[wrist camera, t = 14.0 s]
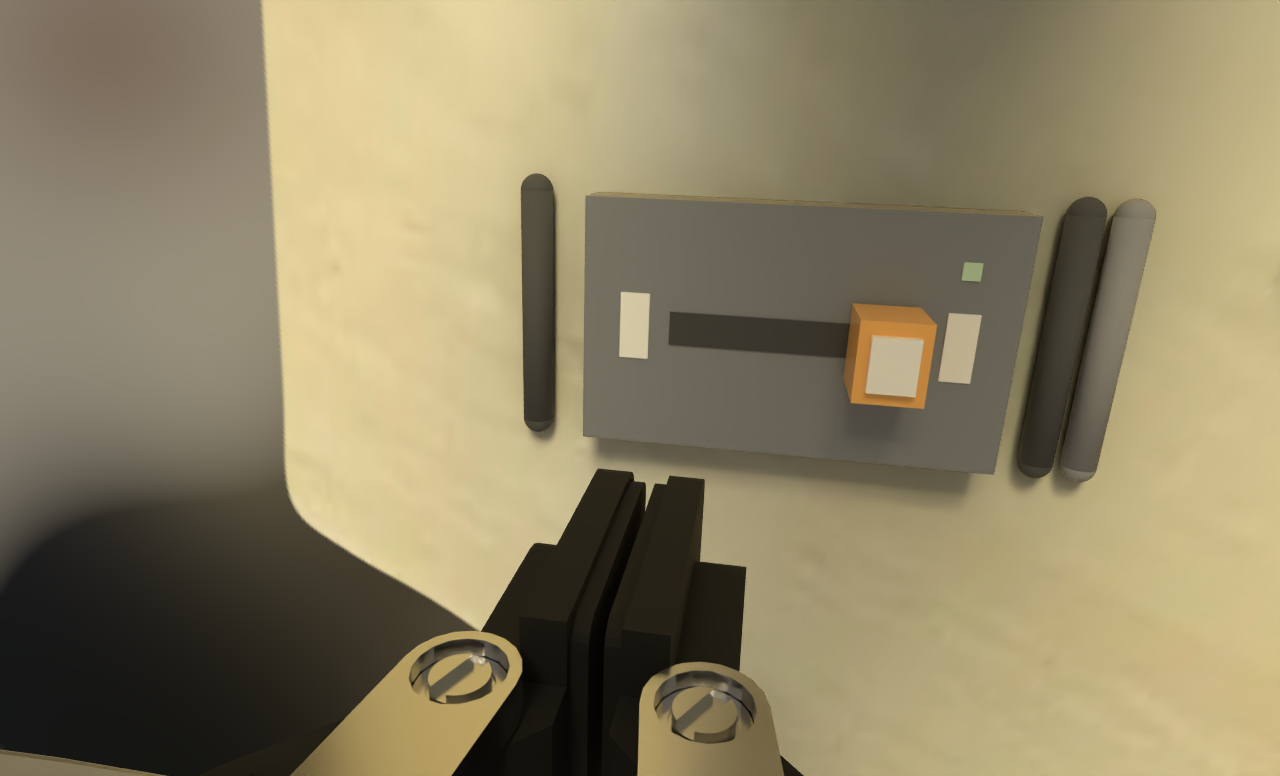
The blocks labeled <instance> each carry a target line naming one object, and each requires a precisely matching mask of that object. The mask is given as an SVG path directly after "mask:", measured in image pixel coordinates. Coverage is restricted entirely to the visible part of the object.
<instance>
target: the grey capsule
mask: <svg viewBox="0 0 1280 776" xmlns="http://www.w3.org/2000/svg"><path fill="white" fill-rule="evenodd" d="M1106 217H1107V209H1106V207H1105V205H1104V203H1103V202H1102V201H1100V200H1099V199H1097V198H1094V197H1084V198H1080V199H1078V200H1076V201H1075V202H1073V203H1072V204H1071V205H1070V207H1069V208H1068V210H1067V213H1066V217H1065V222H1064V227H1063V232H1062V237H1061V242H1060V247H1059V252H1058V257H1057V262H1056V267H1055V272H1054V277H1053V282H1052V287H1051V292H1050V297H1049V302H1048V307H1047V312H1046V317H1045V322H1044V327H1043V332H1042V337H1041V342H1040V347H1039V352H1038V357H1037V362H1036V367H1035V372H1034V377H1033V382H1032V387H1031V392H1030V397H1029V402H1028V407H1027V412H1026V417H1025V422H1024V427H1023V432H1022V437H1021V442H1020V447H1019V452H1018V457H1017V465H1018V468H1019V469H1020V471H1021V472H1022V473H1023V474H1024V475H1026V476H1028V477H1031V478H1041V477H1043V476H1045V475H1047V474H1048V473H1049V472H1050V471H1051V469H1052V467H1053V463H1054V458H1055V453H1056V449H1057V444H1058V440H1059V435H1060V430H1061V426H1062V421H1063V416H1064V412H1065V407H1066V403H1067V398H1068V393H1069V389H1070V384H1071V379H1072V375H1073V370H1074V366H1075V361H1076V356H1077V352H1078V347H1079V342H1080V338H1081V333H1082V329H1083V324H1084V319H1085V315H1086V310H1087V305H1088V301H1089V296H1090V291H1091V287H1092V282H1093V278H1094V273H1095V268H1096V264H1097V259H1098V254H1099V250H1100V245H1101V241H1102V236H1103V231H1104V227H1105V222H1106Z"/></svg>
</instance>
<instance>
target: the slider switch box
mask: <svg viewBox="0 0 1280 776" xmlns="http://www.w3.org/2000/svg"><path fill="white" fill-rule="evenodd" d="M1042 221H1043V217H1042V216H1038V215H1034V214H1031V213H1027V212H1023V211H1005V210H983V209H961V208H939V207H917V206H895V205H873V204H851V203H829V202H807V201H785V200H763V199H741V198H719V197H697V196H675V195H653V194H631V193H609V192H598V193H594V194H590V195H586V219H585V304H584V390H583V436H585V437H596V438H606V439H617V440H628V441H638V442H649V443H660V444H671V445H681V446H692V447H703V448H713V449H724V450H735V451H745V452H756V453H767V454H777V455H788V456H799V457H809V458H820V459H831V460H842V461H852V462H863V463H874V464H884V465H895V466H906V467H916V468H927V469H938V470H948V471H959V472H970V473H980V474H991V475H994V472H995V466H996V461H997V456H998V451H999V445H1000V440H1001V435H1002V430H1003V425H1004V419H1005V414H1006V409H1007V404H1008V398H1009V393H1010V388H1011V383H1012V377H1013V372H1014V367H1015V362H1016V357H1017V351H1018V346H1019V341H1020V336H1021V330H1022V325H1023V320H1024V315H1025V310H1026V304H1027V299H1028V294H1029V289H1030V283H1031V278H1032V273H1033V268H1034V262H1035V257H1036V252H1037V247H1038V242H1039V236H1040V231H1041V226H1042ZM852 303H857V304H872V305H888V306H904V307H919V308H922V309H923V310H924V311H925V313H926V314H927V315H928V316H929V317H930V318H931V319H932V320H933V321H934V322H935V323H936V324H937V329H936V336H935V342H934V349H933V355H932V361H931V368H930V374H929V381H928V387H927V393H926V400H925V406H924V409H918V408H906V407H894V406H882V405H870V404H858V403H851V402H850V399H849V396H848V393H847V389H846V386H845V383H844V379H843V377H844V369H845V361H846V352H847V344H848V336H849V328H850V319H851V311H852Z"/></svg>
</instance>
